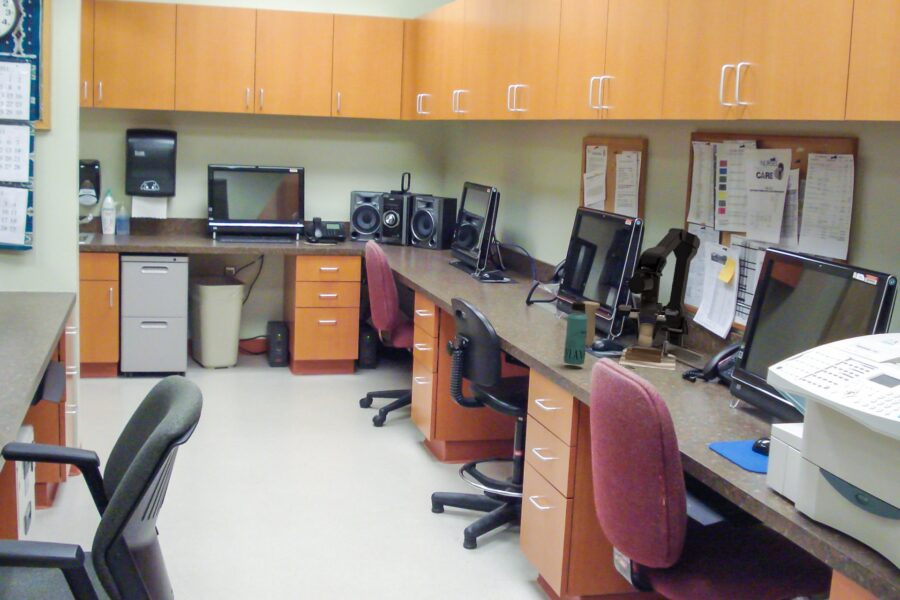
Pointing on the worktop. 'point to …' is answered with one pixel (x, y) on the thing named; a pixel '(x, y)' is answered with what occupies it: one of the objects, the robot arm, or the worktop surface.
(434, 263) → the worktop surface
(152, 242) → the worktop surface
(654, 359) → the cradle
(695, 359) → the bar
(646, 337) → the pivot pin
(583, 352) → the beverage bottle
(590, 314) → the handle
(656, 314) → the robot arm
